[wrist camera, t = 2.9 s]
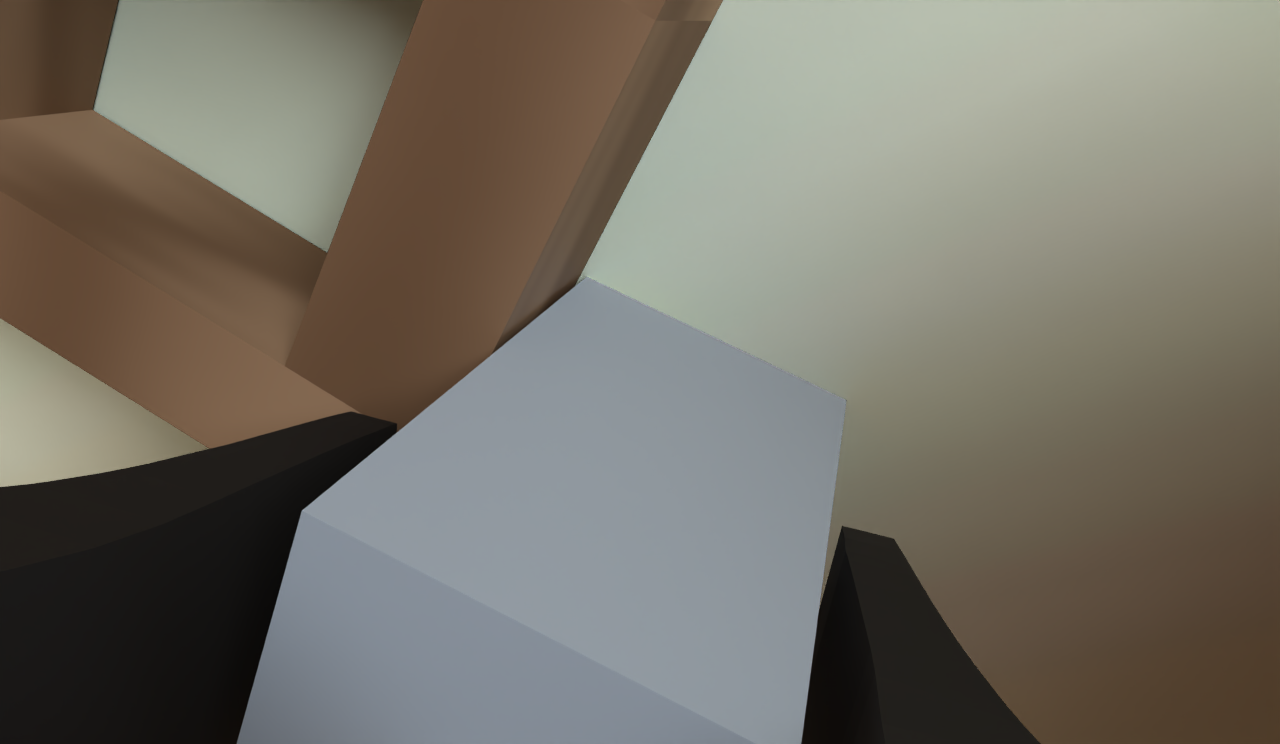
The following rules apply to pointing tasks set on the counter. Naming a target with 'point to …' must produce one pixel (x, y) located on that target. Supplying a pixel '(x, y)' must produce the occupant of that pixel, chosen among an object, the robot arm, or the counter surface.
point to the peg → (567, 551)
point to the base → (368, 229)
